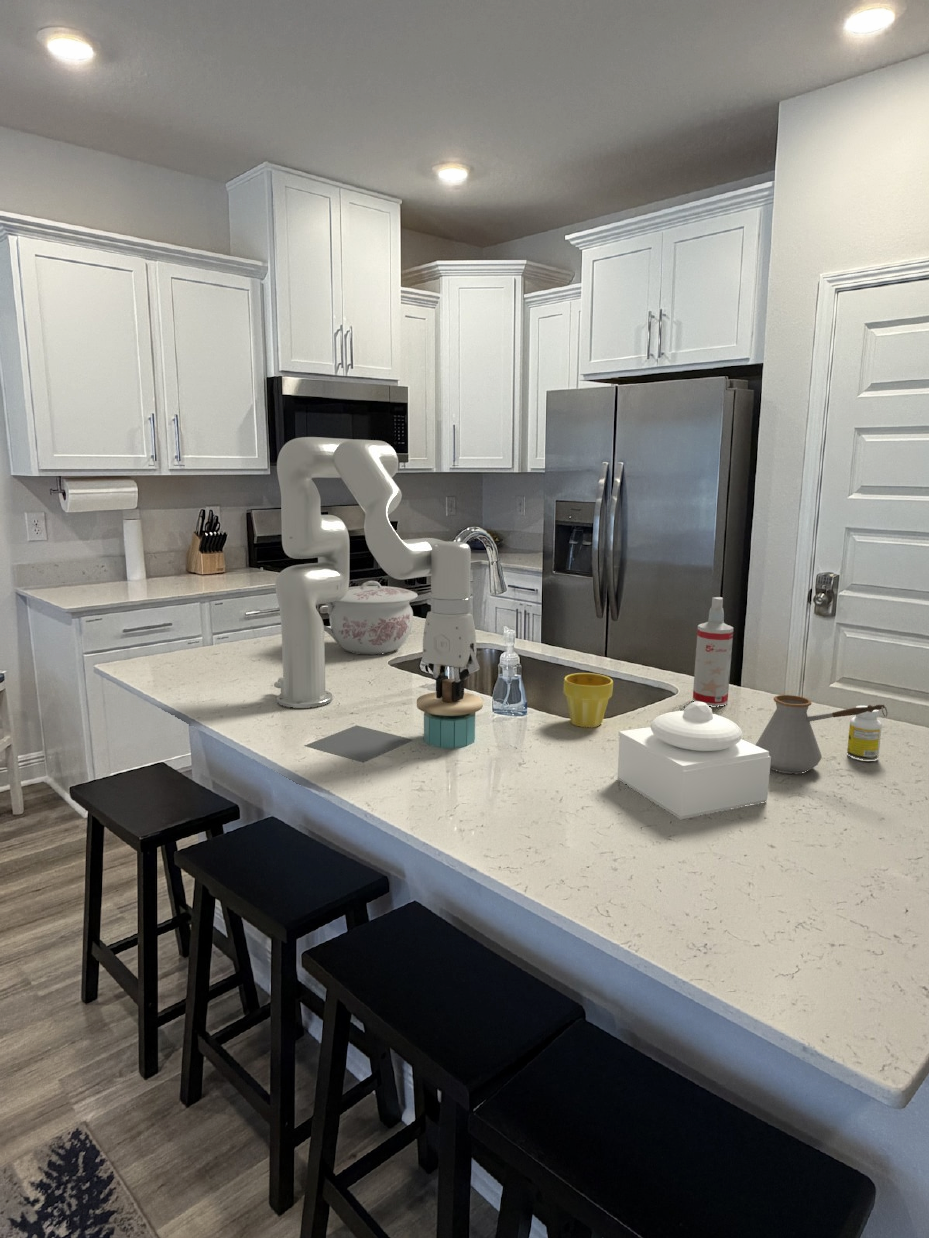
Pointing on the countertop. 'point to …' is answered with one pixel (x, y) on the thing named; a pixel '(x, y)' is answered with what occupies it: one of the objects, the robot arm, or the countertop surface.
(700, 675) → the spray bottle
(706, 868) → the countertop surface
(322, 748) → the mat
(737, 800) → the white square canister
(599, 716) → the plant pot
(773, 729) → the coffee pot
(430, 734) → the bowl
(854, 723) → the supplement bottle
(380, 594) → the chamber pot
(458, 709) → the lid
